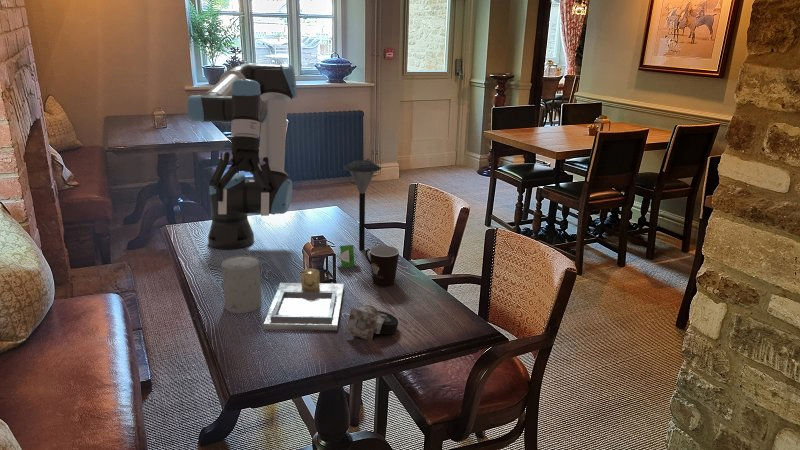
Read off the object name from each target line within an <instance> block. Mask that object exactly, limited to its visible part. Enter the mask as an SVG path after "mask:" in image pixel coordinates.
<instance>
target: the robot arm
mask: <svg viewBox="0 0 800 450" xmlns="http://www.w3.org/2000/svg"><path fill="white" fill-rule="evenodd" d="M295 74H296V73H295V69H294V67H293V66H292V65H291V64H288V63H281V62H279V63H272V62H271V63H268V62H265V63H264V62H244V63H241V64H238V65H236V66H232V67H230V68H229V69H227V70H225V71H224V72H223V73H222V74H221V75H220V76H219V81H218V82H217V83H216V84H215V85H213V86H212V87H211V88H210V89H209V90H208V91H206V93H204V94H203V95H201V94H195V95H193V94H192V95H190V96H189V97H188V98H187V102H186V105H187V106H186V110H187V115H188V118H189V120H191V121H192V122H200V123H231V127H230V134H231V139H230V151H231V153H230V152H229V151H225V152H221V153H220V157H219V162H218V164H217V165H216V169H215V170H214V172H213V175H212V176H211V178H210V180H209V183H208V185H209V192H208V195H209V200H210V201H209V202H210V203H209V204H210V210H211V211H210V212H211V224H210V229H209V233H208V236H207V243H208V245H209V246H210V247H212V248H214V249H219V250H236V249H241V248H245V247H247V246H250V245H252V244H253V243H254V242H255V235H254V231H253V229H252V226H251V224H250V222H249V219H248V214H250V215H251V214H258V215H260V216H265V217H267V216H270V215H281V214H286V213H287V212H288V211H289V210H290V206H291V203H292V198H293V187H294V186H293V181H292V180H291V179H290V178H289V174H288V173H287V172H286V171H285V161H286V160H285V159H286V141H287V140H286V138H287V117H288V107H290V106H291V105H292V104H293V103H292V102H293V99H295V98H297V97H298V90H297V81H296V75H295ZM230 161H231V163H232V164H231V165H230V166H229V167H228V169H227V166H228V165H229V163H230ZM226 169H227V171H226V172H225V170H226ZM239 172H244V173H250V174H251V175H252V177H253V178H247V176H245V174H244V173H239Z"/></svg>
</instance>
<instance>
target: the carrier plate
mask: <svg viewBox="0 0 800 450" xmlns="http://www.w3.org/2000/svg"><path fill="white" fill-rule="evenodd" d="M300 278H301V280H300V281H301V282H280V283H279V286H278V288H277V290H276V293H275V295H274V297H273V300H272V302H271V305H270V307H269V309H268V312H267V315H266V318H265V319H264V322H263V330H281V331H282V330H283V331H285V330H286V331H287V330H293V331H294V330H295V331H296V330H299V331H300V330H301V331H338V328H339V320H340V317H341V315H340V314H341V308H342V304H343V303H342V301H343V295H344V290H345V286H344V285H345V284H344V283H322V282H320V281H321V280H320V270H318V269H316V268H305V269H303V270H301V272H300Z"/></svg>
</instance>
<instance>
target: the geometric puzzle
mask: <svg viewBox="0 0 800 450" xmlns="http://www.w3.org/2000/svg"><path fill="white" fill-rule="evenodd" d="M339 251H340V252H337V255H335V258H336V259H339V260H337V261H338V263H339V265H340V268H348V267H349V268H350V267H351V268H352V267H356V263H357V260H355V259H358V257H359V256H360V255H359V253H357V251H356V248H355V246H354V244H348V245H347V244H346V245H339ZM354 251H355V252H354ZM340 262H341V263H340Z"/></svg>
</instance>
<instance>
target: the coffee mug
mask: <svg viewBox="0 0 800 450" xmlns="http://www.w3.org/2000/svg"><path fill="white" fill-rule="evenodd" d="M368 253H369V254H368ZM364 255H365V258H366V260H367V262H368V264H369V265H370V267H371V268H370V269H371V276H372V284H373V285H374V286H376V287H379V288H388V287H392V286H394V285H395V282H396V276H397V274H396V273H397V269H398V262H399V255H400V249H399V248H397V247H395V246H390V245H376V246H373V247H371V248H367V249H366V250H365V253H364ZM368 255H369V256H368ZM369 257H370V258H369Z"/></svg>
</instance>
